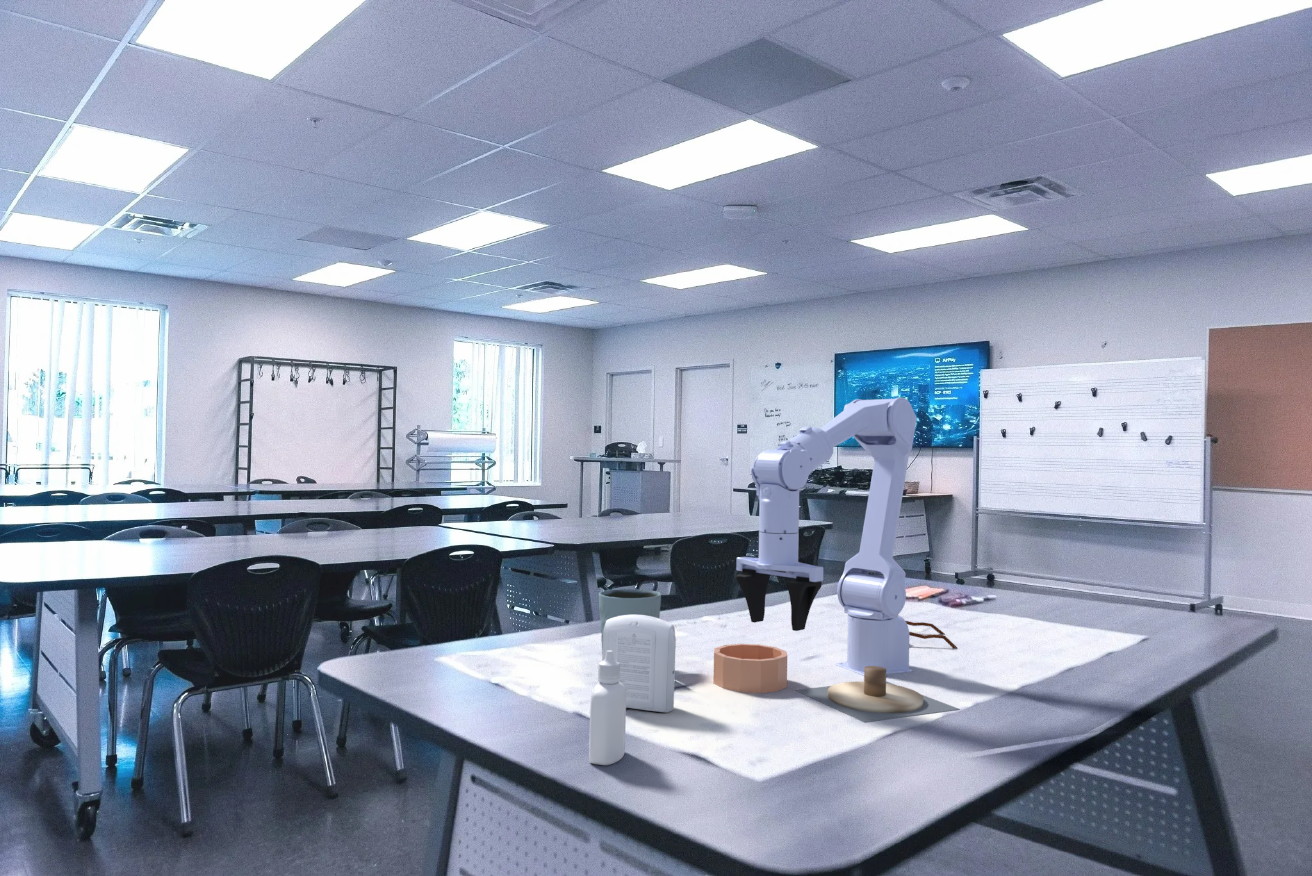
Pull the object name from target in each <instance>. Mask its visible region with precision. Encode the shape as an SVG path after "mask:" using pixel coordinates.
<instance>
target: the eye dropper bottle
mask: <svg viewBox="0 0 1312 876" xmlns="http://www.w3.org/2000/svg"><path fill="white" fill-rule="evenodd" d="M597 672H598V673H597V675H598V676H597V678H598V679H597V680H598V682H597V684H596V685H595V686H594V688H593V689H592V691H591V695H590V704H589V705H590V706H589V737H588V738H589V740H588V741H589V744H588V760H589V763H590V764H593V765H597V766H598V765H600V766H610V765H612V764H615V763H617V762H619V761H621V760H622V758H623V757H624V755H625V753H626V724H627V723H626V722H627V721H626V719H627V717H626V715H627V708H626V688H625V686H624V685H623V684H622V683H620V682H619V681H620V663H619V662H617V661H615V660H614V656H613V651H612V650H607V651H606V656H605V659H604V660H603V661H602V660H601V661H600V662H598V671H597Z"/></svg>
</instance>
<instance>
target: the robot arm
mask: <svg viewBox="0 0 1312 876" xmlns="http://www.w3.org/2000/svg"><path fill="white" fill-rule="evenodd" d="M917 419H918V418H917V415H916V414H915V411H914V409H913V407H912V405H911V403H910V401H909V400H908V399H907V398H904V397H896V398H883V399H881V398H880V399H878V398H877V399H860V398H859V399H853V400H852V401H851V402H849V403H846V404H845V405H844V408H843V411H841V412H840V413H838V415H836V416H835V417H833V418H832V419H831V420H830V421H829V422H827V423H826V424H825V425H823V426H822V427H821V428H819V427H816V426H815V427H814V426H802V427H801V428H800V429H799V430H798V432H799V433H798V434H797V435H795V436H793V437H792V438H790V439H789V440H782V441H781V442H780V443H779V445H780V446H778V447H777V448H776V449H766V450H763V451H761V452H760V453H759V455H758V456H756V458H755V460H754V462H753V467H751V468H750V475H751V479H752V480H753V483H754V484H755V487H756V497H757V499H758V500H759V516H758V517H759V521H758V523H759V524H758V527H759V528H758V557H748V556H740V557H736V568H735V569H736V571H737V572H741V573H739V574H736V578H735V580H736V581H737V583H738V585H739V586H740V588H741V590H742V593H743V595H744V599H745V602H746V606H747V608H748V613H749V616H750V622H751V623H760V622H764V618H765V611H766V596H767V595H766V594H767V590H768V585H769V582H770V581H769V580H770V577H771V575H772V576H778V577H785V578H791V579H792V578H793V579H795V580H789V581H785V583H786V588H787V590H788V591H787V592H788V595H789V600H790V611H791V612H790V614H791V615H790V617H791V623H790V625H791V630H792V631H793V632H794V631H795V632H799V631H804V630H805V629H806V625H807V620H808V617H809V614H810V611H811V608H812V605H813V603H814V600H815V598H816V596H817V594H818V593H819V591H820V589H821V588H822V585H823V584H822V583H823V581H824V567H823V566H818V565H812V564H808V563H803V562H800V561H799V535H800V534H799V528H800V527H799V526H800V525H799V524H800V521H799V520H800V519H799V518H800V515H799V514H800V489H802V488H804V486H805V485H806V484H807V481H808V479H809V475H811V474H812V472H813V471H815V470H816V469H817V468H819V467H820V466H821V465H823V464H825V463H826V462H827V461H828V460H830V459H831V458H832V457H833V454H834V448H835V447H837V446H838V445H840V444H842V443H843V442H845V441H847V440H849V439H850V438H851V439H852V437H853V438H854V439H855V440H856V442H857V443H858V444H859V445H860V447H862V448H863V450H864V451H866V452H868V453H869V454H871V456H872V458H873V460H874V463H873V466H872V467H873V468H872V474H871V481H870V487H869V491H868V497H867V504H866V510H865V516H864V522H863V529H862V534H861V540H860V547H859V552H857V553H856V554H855V555H854V556H852V557H851V558H849V559H848V560H847V561H846V562H845V564H844V570H843V573H842V575H841V577H840V578H839V581H838V583H837V588H836V590H837V591H836V593H837V600H838V602H839V604H840V605H841V606H842V608H843V609H844V610H843V613H844V614H847V651H846V653H847V656H846V657H847V658H846V659H847V661H846V662H837V663H835V666H837V667H840V668H842V669H845V670H848V671H850V672H853V673H854V674H857V675H861V676H863V677H864V667H867V666H878V667H883V668H885V669H886V675H891V674H900V673H911V672H913V669H911V668H910V635H909V632H910V629H909V626H908V624H907V623H906V621H907V620H905V619H904V618H903V616H901V615H900V613H901V612H902V611H903V609H904V608H905V604H906V600H907V592H906V572H905V570H904V569H903V568H902V567H901V566H900V565H899V564H898V563H897V561H896V560H895V559H894V551H895V545H896V539H897V532H898V526H899V520H900V514H901V513H900V512H901V506H902V500H903V494H904V489H905V482H906V478H907V477H906V475H907V470H908V465H909V464H908V463H909V459H910V458H909V456H910V452H912V449H913V445H914V444H913V443H914V438H915V437H914V436H915V432H916V426H917ZM870 573H871V574H870ZM872 573H875V574H872ZM877 574H881V575H877Z"/></svg>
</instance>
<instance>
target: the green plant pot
mask: <svg viewBox="0 0 1312 876" xmlns="http://www.w3.org/2000/svg"><path fill="white" fill-rule="evenodd" d="M661 603H662V593H661V592H660V591H657V590H656V591H655V590H650V589H640V588H639V589H638V588H636V589H635V588H621V589H619V588H615V589H608V590H603V591H600V592H598V606H599V616H600V617H599V618H600V619H599V620H600V633H601V636H600V640H601V653H602V654H601V655H602V658H603V632H604V627H605V623H606V621H607V620H608V619H610V618H614V617H617V616H623V615H646V616H651V617H655V618H659V619H660V615H661ZM602 658H601V659H602Z"/></svg>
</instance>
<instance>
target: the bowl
mask: <svg viewBox="0 0 1312 876" xmlns="http://www.w3.org/2000/svg"><path fill="white" fill-rule="evenodd" d="M712 684H713V685H715V686H716V687H719V688H721V689H723V690H729V691H733V692H738V693H753V694H756V693H757V694H763V693H764V694H765V693H771V692H779V691H781V690H784V689H785V688H787V687H788V652H787V650H785V649H781V648H780V647H776V646H771V645H770V646H769V645H764V644H757V643H756V644H755V643H734V644H723V645H720V646H718V647H714V650H713V683H712Z"/></svg>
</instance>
